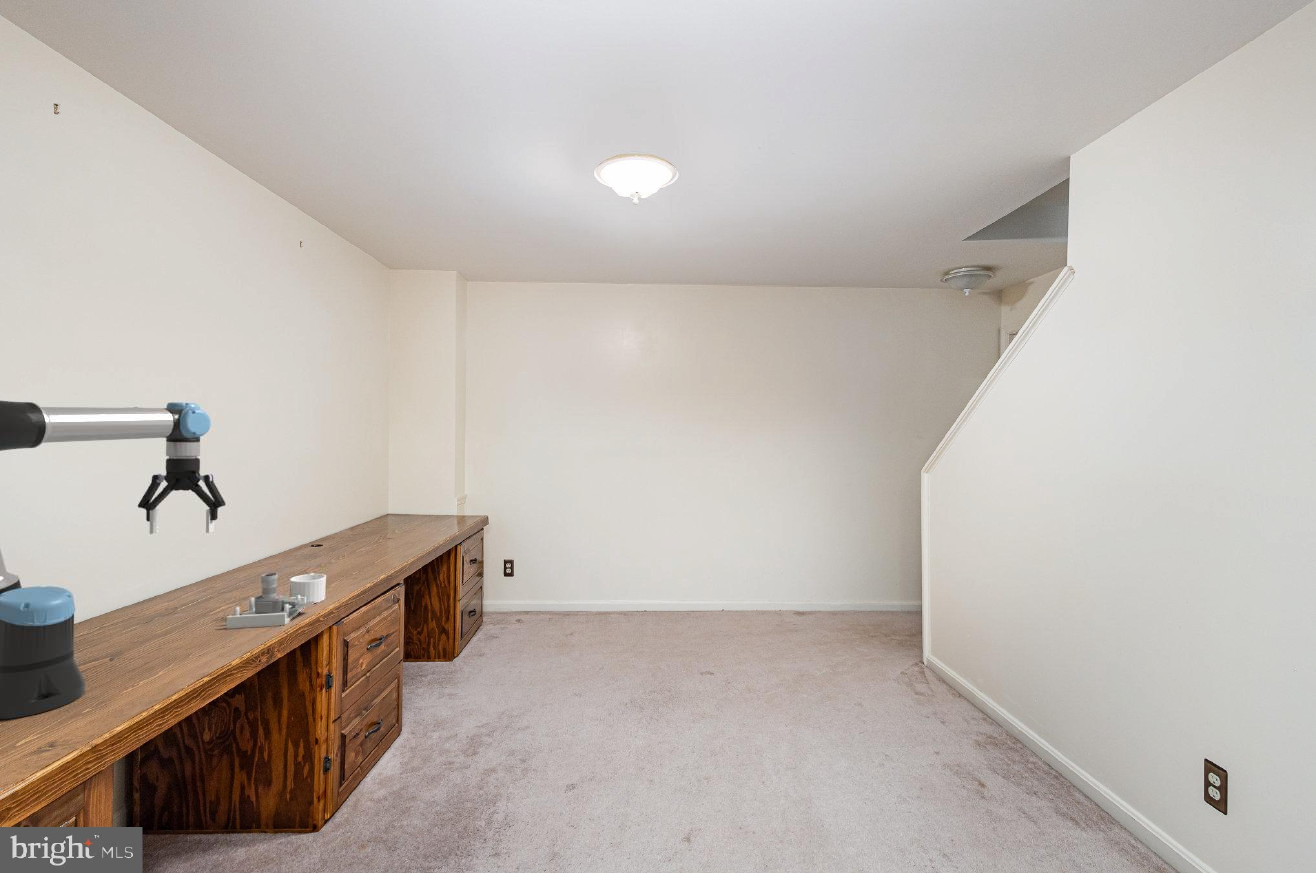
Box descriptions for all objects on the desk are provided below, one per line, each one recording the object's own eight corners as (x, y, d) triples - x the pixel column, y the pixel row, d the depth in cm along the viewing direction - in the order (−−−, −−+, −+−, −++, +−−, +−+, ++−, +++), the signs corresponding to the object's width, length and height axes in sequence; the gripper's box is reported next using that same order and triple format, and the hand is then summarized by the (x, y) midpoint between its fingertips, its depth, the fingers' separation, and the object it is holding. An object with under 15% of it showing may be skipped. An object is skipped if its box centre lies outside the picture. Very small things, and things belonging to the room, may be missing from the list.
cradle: (285, 625, 173) (285, 608, 173) (226, 628, 170) (226, 611, 170) (305, 607, 191) (305, 591, 191) (253, 609, 187) (253, 594, 187)
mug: (323, 604, 194) (323, 580, 194) (286, 607, 190) (286, 582, 190) (329, 593, 206) (329, 570, 206) (294, 596, 203) (295, 573, 202)
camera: (268, 570, 186) (315, 572, 186) (267, 607, 186) (314, 609, 186) (248, 577, 178) (298, 579, 177) (248, 616, 178) (297, 618, 177)
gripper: (239, 457, 173) (238, 529, 173) (139, 456, 167) (138, 531, 167) (227, 458, 165) (226, 533, 165) (122, 457, 159) (121, 535, 160)
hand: (182, 532), depth 166 cm, fingers open, 13 cm apart
